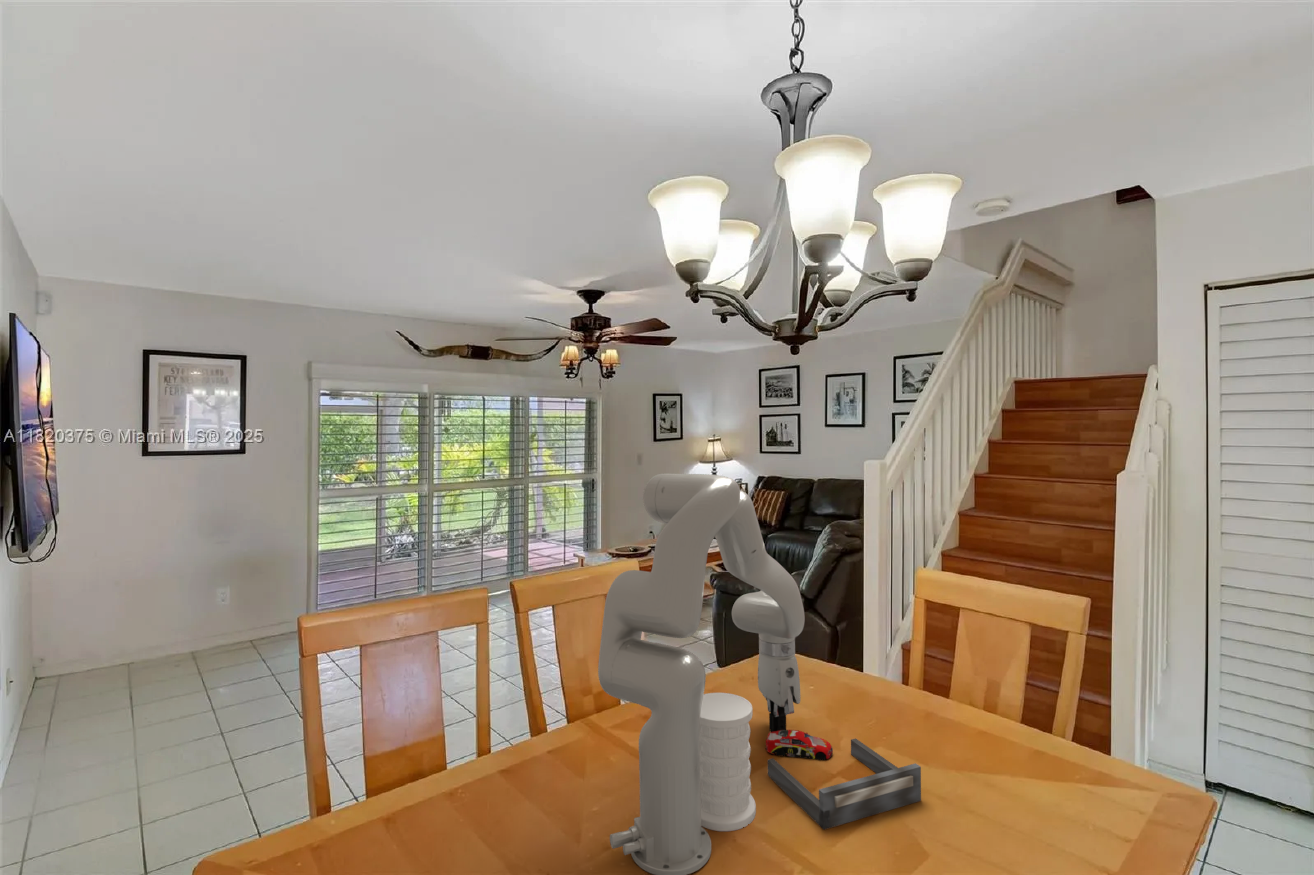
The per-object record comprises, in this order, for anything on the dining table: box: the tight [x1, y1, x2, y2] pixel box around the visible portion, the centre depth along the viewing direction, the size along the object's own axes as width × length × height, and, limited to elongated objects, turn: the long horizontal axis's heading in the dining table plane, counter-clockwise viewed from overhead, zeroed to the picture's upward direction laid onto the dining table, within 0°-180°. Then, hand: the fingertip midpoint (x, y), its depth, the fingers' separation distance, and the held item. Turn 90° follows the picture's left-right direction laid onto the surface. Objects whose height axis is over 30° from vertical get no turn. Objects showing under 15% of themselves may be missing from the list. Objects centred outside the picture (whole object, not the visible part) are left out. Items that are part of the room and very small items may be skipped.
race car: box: [765, 729, 834, 761], centre depth 126 cm, size 13×5×4 cm, turn 76°
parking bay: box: [767, 738, 922, 830], centre depth 113 cm, size 20×18×6 cm
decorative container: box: [700, 692, 757, 832], centre depth 107 cm, size 12×12×18 cm
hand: (777, 731), depth 133 cm, fingers closed
